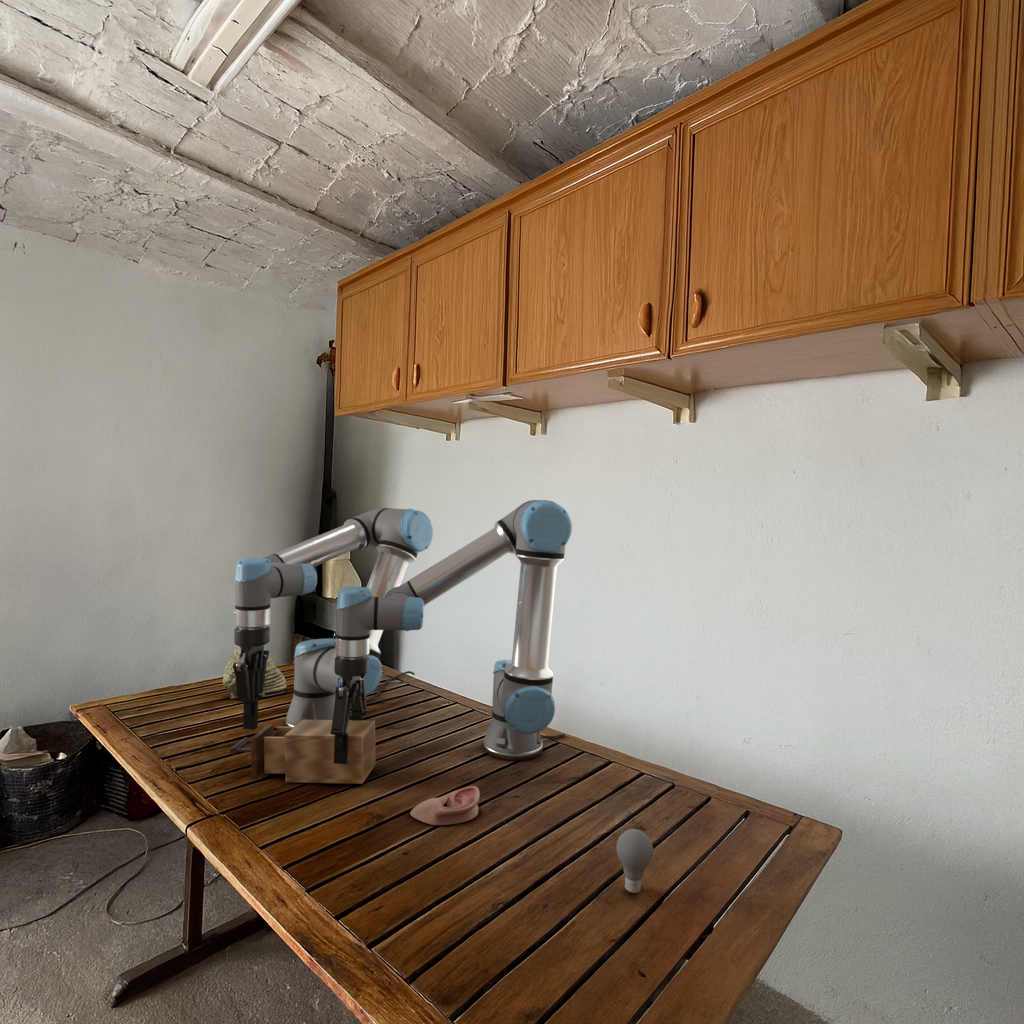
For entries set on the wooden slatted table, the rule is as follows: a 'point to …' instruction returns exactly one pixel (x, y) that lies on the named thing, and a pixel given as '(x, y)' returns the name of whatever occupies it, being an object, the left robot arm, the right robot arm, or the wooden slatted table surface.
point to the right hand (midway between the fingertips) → (348, 753)
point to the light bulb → (634, 857)
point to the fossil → (273, 677)
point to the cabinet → (329, 753)
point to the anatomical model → (449, 807)
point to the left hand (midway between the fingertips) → (250, 728)
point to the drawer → (265, 750)
